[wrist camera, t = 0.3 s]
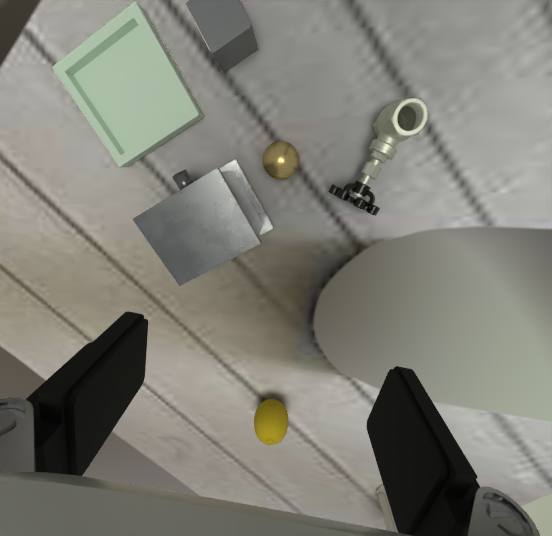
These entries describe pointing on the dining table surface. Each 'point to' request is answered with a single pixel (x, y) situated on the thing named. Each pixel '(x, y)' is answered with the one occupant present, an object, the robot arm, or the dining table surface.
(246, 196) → the box
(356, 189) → the valve
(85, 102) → the tray
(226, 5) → the block
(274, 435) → the lemon
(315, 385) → the dining table surface
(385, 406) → the robot arm
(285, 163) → the cylinder
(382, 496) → the beer glass
